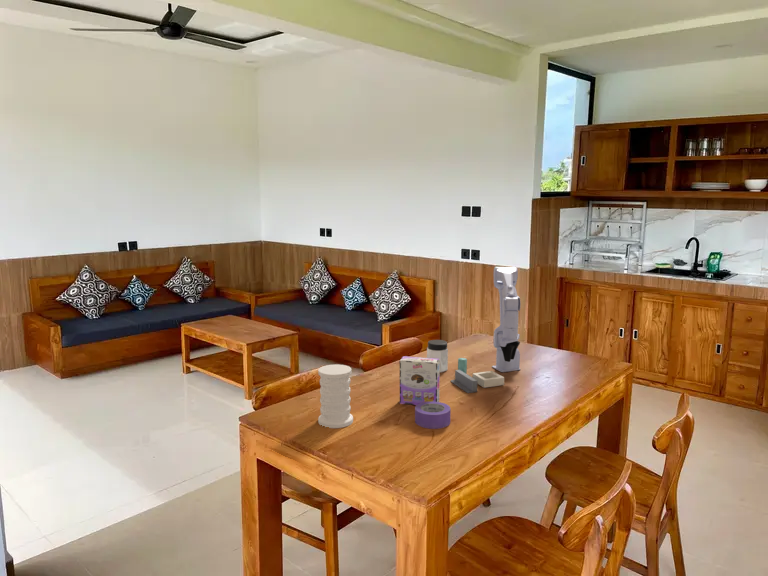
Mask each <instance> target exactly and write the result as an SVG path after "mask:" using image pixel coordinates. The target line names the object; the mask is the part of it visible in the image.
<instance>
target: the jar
mask: <svg viewBox="0 0 768 576" xmlns="http://www.w3.org/2000/svg"><path fill="white" fill-rule="evenodd" d="M426 358H436V359H440V373H444V372H446V371H448V370H449V369H448V363H449V362H448V361H449V349H448V342H447V341H446V340H443V339H432V340H428V342H427V347H426Z"/></svg>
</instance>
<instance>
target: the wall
mask: <svg viewBox="0 0 768 576" xmlns="http://www.w3.org/2000/svg"><path fill="white" fill-rule="evenodd" d="M450 382H451V383H452V385H455V386H456V387H458V388H459V389H461V390H462V391H464V392H465V393H467V394H471V393H477V392H478V384H477V380H476V379H474V378H472V376H471V375H469V374H468V373H467V374H466V373H464V372H463V371H461V370H458V369H455V370H454V379H452V380H450Z"/></svg>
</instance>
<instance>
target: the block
mask: <svg viewBox="0 0 768 576" xmlns="http://www.w3.org/2000/svg"><path fill="white" fill-rule="evenodd" d="M471 377H472V378H474V379H476V380H477V385H479V386H481V387H482V388H486V389H487V388H493V387H498V386H499V387H500V386H505V377H504V376H502V375H500V374H498V373H497V372H496V371H493V370H488V371H479V372H473V373H472V376H471Z"/></svg>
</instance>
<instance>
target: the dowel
mask: <svg viewBox="0 0 768 576" xmlns="http://www.w3.org/2000/svg"><path fill="white" fill-rule="evenodd" d="M467 366H468V359H467V358H465V357H458V358H457V370H461V371H463V372H464V373H466V374H467V375H468V373H467V371H468V369H467V368H468V367H467Z"/></svg>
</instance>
